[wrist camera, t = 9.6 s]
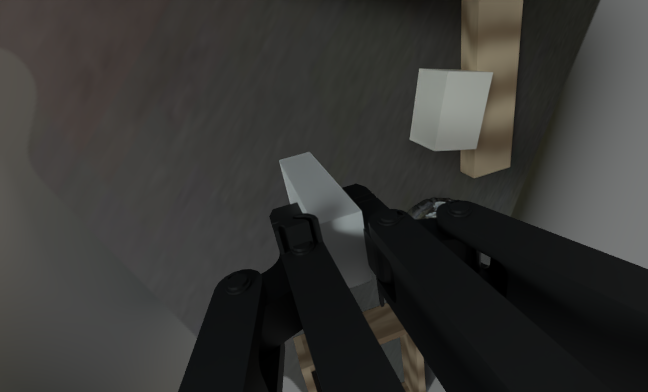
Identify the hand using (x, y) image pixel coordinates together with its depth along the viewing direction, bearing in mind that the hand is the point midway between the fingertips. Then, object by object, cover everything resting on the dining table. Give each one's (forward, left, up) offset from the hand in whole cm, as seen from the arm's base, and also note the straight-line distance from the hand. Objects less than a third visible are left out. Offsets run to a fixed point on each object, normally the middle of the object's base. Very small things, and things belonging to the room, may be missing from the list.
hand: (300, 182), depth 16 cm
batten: (+4, +30, -24) cm, 39 cm away
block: (+5, +23, -25) cm, 34 cm away
